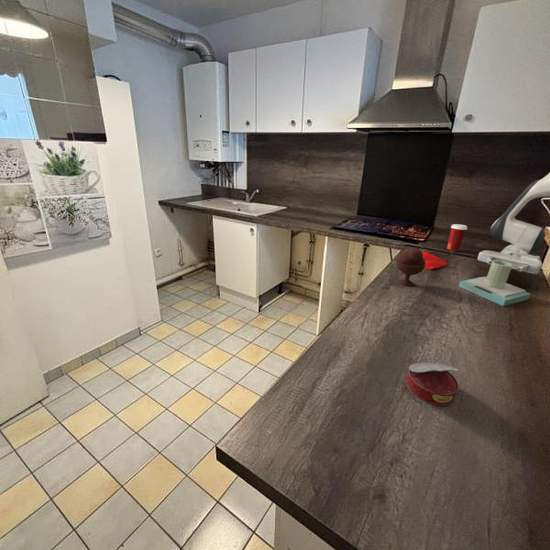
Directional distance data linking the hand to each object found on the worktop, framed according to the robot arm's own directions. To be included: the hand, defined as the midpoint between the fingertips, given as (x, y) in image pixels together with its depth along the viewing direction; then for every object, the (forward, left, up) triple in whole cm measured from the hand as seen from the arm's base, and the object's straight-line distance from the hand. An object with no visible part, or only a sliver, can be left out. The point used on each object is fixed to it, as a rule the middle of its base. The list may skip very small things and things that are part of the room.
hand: (504, 265), depth 112 cm
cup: (-2, +6, -6) cm, 9 cm away
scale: (-2, +6, -10) cm, 12 cm away
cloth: (+31, -1, -10) cm, 33 cm away
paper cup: (+41, -28, -10) cm, 51 cm away
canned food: (-29, +71, -10) cm, 77 cm away
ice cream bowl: (+16, +32, -10) cm, 37 cm away
